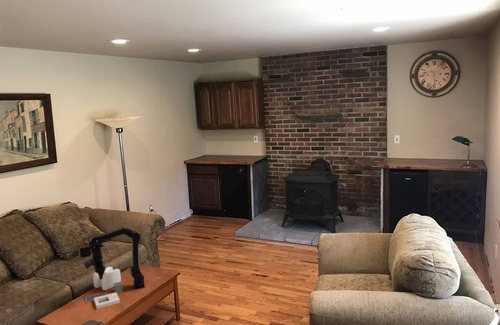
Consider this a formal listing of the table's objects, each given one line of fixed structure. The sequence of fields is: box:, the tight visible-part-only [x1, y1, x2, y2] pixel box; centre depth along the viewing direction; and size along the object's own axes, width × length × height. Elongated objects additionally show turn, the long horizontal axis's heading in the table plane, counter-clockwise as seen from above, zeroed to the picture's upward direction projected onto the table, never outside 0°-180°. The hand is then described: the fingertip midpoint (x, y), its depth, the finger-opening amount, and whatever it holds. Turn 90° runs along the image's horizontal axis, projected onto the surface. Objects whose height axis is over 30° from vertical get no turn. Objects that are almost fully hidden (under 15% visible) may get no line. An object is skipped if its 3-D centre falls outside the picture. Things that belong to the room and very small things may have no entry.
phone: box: [84, 291, 109, 303], centre depth 262 cm, size 7×14×1 cm, turn 118°
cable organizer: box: [92, 266, 122, 291], centre depth 277 cm, size 15×11×12 cm
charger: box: [113, 281, 123, 295], centre depth 268 cm, size 5×4×6 cm
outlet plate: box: [93, 292, 121, 310], centre depth 256 cm, size 14×12×2 cm
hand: (100, 276), depth 262 cm, fingers open, 9 cm apart
